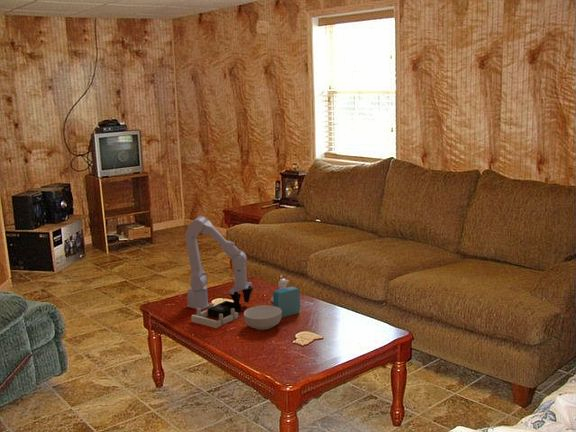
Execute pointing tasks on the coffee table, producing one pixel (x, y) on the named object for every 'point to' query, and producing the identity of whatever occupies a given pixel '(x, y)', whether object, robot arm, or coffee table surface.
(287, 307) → the teal box
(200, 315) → the dock
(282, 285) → the white creature statuette
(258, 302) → the coffee table surface
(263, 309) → the cereal bowl
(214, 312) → the battery charger
